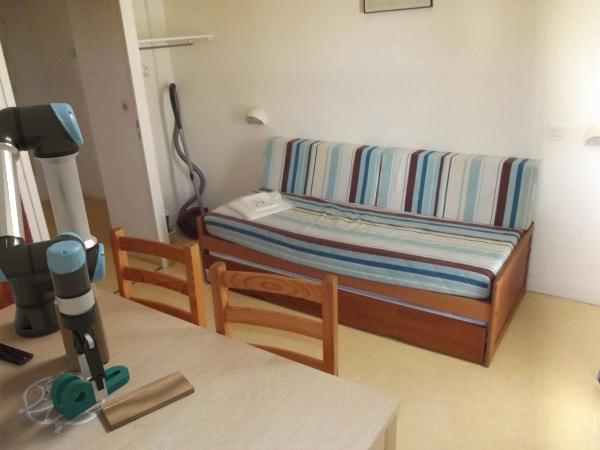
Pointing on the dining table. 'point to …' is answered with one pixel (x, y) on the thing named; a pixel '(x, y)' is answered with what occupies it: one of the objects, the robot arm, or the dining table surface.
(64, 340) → the block
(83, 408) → the bracket
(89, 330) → the robot arm
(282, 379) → the dining table surface
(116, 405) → the plank
